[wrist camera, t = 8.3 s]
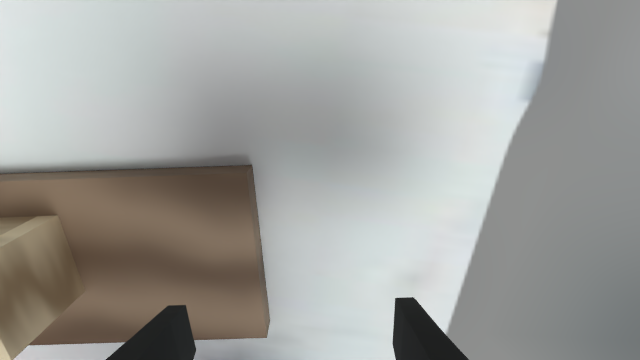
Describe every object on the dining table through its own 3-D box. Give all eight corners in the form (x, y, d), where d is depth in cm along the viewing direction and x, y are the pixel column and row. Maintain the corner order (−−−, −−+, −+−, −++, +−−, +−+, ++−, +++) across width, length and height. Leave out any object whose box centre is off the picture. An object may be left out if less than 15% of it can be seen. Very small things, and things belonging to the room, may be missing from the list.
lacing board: (269, 320, 22) (253, 405, 17) (27, 328, 22) (-71, 415, 17) (252, 165, 18) (222, 206, 13) (-44, 175, 18) (-204, 221, 13)
